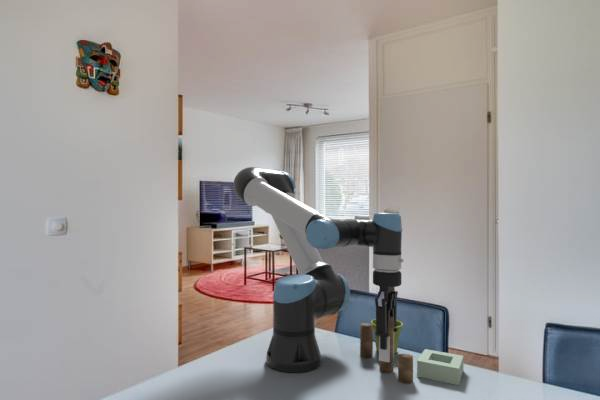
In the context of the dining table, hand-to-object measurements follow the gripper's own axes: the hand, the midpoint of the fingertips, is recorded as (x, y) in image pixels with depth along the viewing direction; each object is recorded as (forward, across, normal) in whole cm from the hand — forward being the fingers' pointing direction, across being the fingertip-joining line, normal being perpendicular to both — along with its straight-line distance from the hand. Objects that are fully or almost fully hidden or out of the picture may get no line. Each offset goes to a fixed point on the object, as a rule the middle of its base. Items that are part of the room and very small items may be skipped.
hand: (386, 358), depth 103 cm
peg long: (+3, 0, 0) cm, 3 cm away
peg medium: (+3, +7, +8) cm, 11 cm away
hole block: (+3, +5, -13) cm, 14 cm away
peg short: (+3, -4, -6) cm, 8 cm away
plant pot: (+3, +14, +4) cm, 15 cm away
